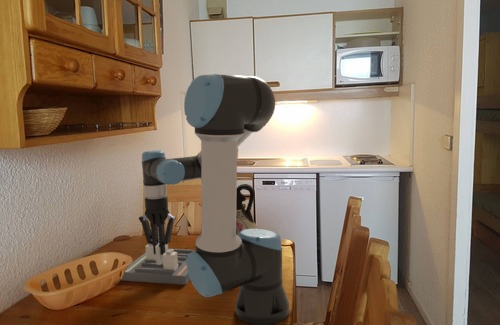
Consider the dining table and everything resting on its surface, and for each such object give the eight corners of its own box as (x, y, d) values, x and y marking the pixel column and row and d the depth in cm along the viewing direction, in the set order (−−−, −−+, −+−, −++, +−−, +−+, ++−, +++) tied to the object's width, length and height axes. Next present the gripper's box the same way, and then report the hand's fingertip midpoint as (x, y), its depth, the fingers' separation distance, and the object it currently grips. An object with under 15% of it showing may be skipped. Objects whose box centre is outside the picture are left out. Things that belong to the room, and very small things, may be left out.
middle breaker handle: (156, 261, 134) (155, 243, 133) (146, 261, 134) (145, 243, 134) (160, 258, 137) (159, 241, 136) (150, 258, 137) (149, 240, 137)
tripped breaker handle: (174, 271, 125) (173, 252, 124) (163, 270, 126) (162, 251, 125) (178, 267, 128) (176, 249, 127) (167, 267, 128) (166, 248, 128)
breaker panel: (185, 284, 122) (185, 273, 121) (120, 280, 127) (119, 269, 126) (207, 259, 143) (206, 249, 142) (150, 256, 148) (150, 246, 148)
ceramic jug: (215, 266, 136) (211, 187, 132) (227, 251, 150) (224, 179, 147) (260, 269, 131) (257, 187, 128) (268, 253, 146) (266, 179, 142)
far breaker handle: (164, 254, 140) (163, 237, 140) (155, 254, 141) (154, 237, 140) (168, 251, 143) (167, 234, 142) (158, 251, 144) (157, 234, 143)
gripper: (178, 194, 126) (182, 259, 129) (143, 193, 129) (148, 258, 132) (169, 199, 119) (173, 268, 122) (132, 198, 122) (137, 266, 125)
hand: (160, 263), depth 127 cm, fingers closed
